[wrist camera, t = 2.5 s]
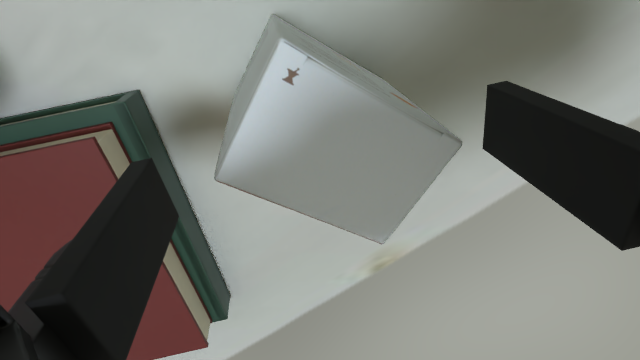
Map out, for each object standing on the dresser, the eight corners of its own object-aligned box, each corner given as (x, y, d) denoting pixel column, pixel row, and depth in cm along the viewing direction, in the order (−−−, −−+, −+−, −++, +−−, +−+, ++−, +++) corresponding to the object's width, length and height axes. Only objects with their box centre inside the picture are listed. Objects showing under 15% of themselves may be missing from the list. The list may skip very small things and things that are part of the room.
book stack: (139, 89, 20) (106, 116, 16) (230, 295, 29) (224, 346, 25) (-100, 138, 20) (-195, 178, 16) (67, 332, 29) (34, 389, 25)
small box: (232, 97, 21) (205, 181, 12) (272, 10, 19) (275, 32, 10) (340, 150, 24) (384, 250, 15) (385, 79, 22) (468, 145, 13)
